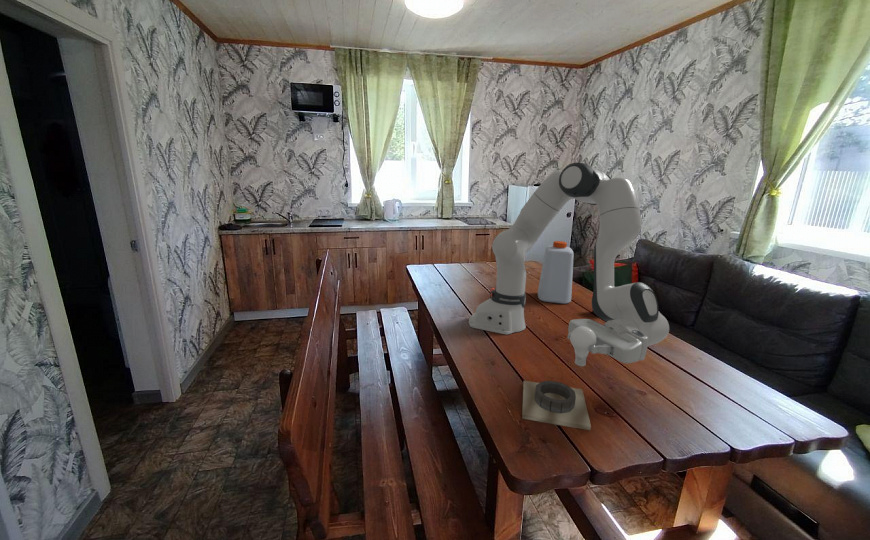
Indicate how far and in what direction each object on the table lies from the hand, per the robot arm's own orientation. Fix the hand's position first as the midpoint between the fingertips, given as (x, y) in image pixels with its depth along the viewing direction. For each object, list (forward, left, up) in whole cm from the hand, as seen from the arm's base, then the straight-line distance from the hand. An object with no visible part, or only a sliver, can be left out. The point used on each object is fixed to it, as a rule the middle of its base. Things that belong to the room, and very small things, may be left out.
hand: (579, 343), depth 97 cm
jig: (-5, -4, -17) cm, 18 cm away
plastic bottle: (0, +86, -17) cm, 88 cm away
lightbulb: (+1, 0, -7) cm, 7 cm away
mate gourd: (+18, +71, -17) cm, 75 cm away
